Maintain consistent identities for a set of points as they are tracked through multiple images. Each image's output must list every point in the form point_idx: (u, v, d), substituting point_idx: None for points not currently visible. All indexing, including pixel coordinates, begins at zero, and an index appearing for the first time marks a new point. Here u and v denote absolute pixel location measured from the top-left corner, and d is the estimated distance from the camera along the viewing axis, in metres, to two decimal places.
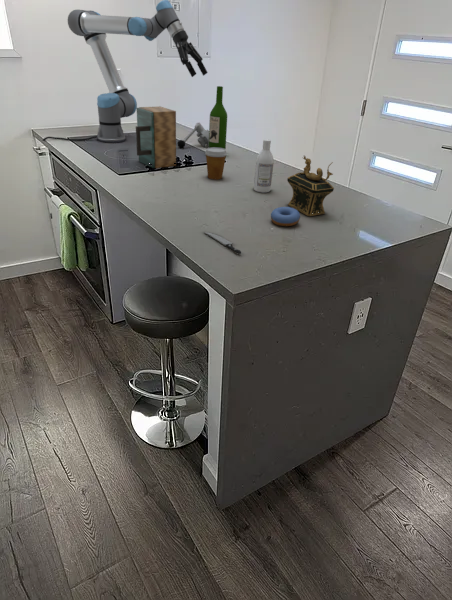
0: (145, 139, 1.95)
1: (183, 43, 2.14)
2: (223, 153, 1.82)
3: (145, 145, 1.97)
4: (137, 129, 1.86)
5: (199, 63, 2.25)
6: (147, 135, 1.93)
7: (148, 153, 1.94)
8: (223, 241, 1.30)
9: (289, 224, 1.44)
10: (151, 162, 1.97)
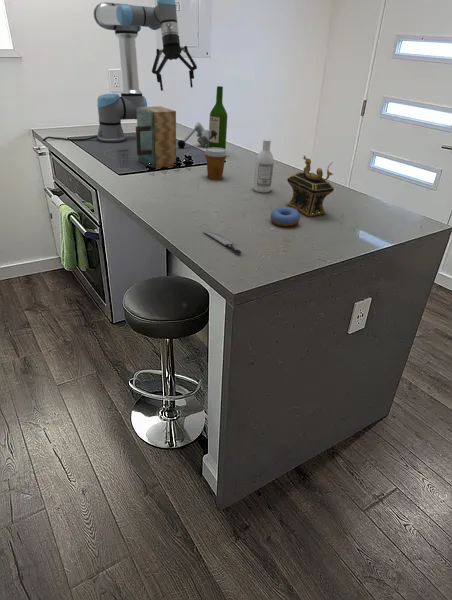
0: (145, 139, 1.95)
1: (166, 49, 1.90)
2: (223, 153, 1.82)
3: (145, 145, 1.97)
4: (137, 129, 1.86)
5: (189, 72, 1.94)
6: (147, 135, 1.93)
7: (148, 153, 1.94)
8: (223, 241, 1.30)
9: (289, 224, 1.44)
10: (151, 162, 1.97)
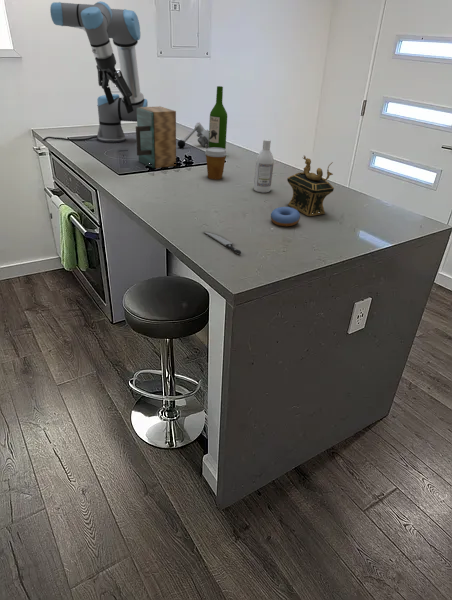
0: (145, 139, 1.95)
1: (103, 69, 1.72)
2: (223, 153, 1.82)
3: (145, 145, 1.97)
4: (137, 129, 1.86)
5: None
6: (147, 135, 1.93)
7: (148, 153, 1.94)
8: (223, 241, 1.30)
9: (289, 224, 1.44)
10: (151, 162, 1.97)
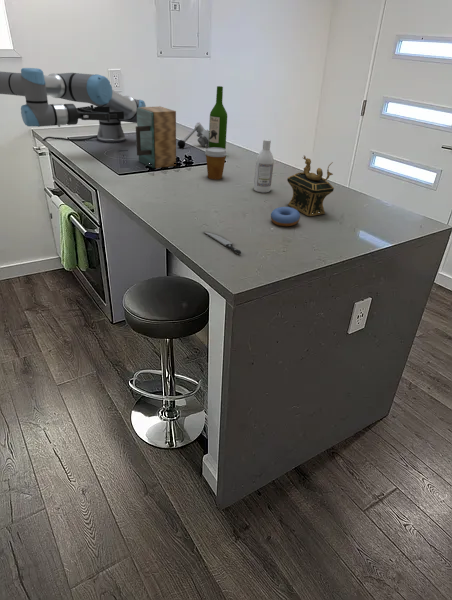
0: (145, 139, 1.95)
1: None
2: (223, 153, 1.82)
3: (145, 145, 1.97)
4: (137, 129, 1.86)
5: None
6: (147, 135, 1.93)
7: (148, 153, 1.94)
8: (223, 241, 1.30)
9: (289, 224, 1.44)
10: (151, 162, 1.97)
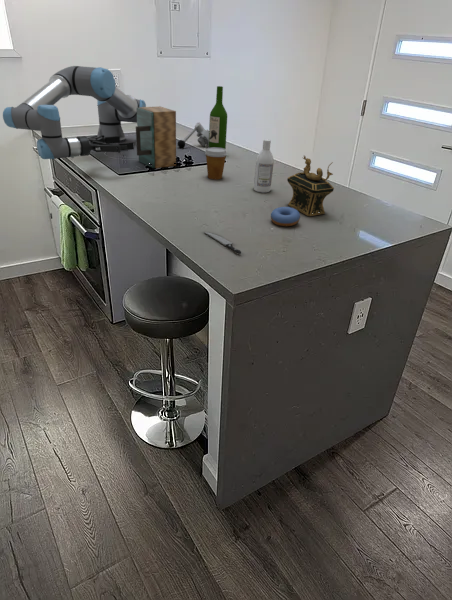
0: (145, 139, 1.95)
1: None
2: (223, 153, 1.82)
3: (145, 145, 1.97)
4: (137, 129, 1.86)
5: None
6: (147, 135, 1.93)
7: (148, 153, 1.94)
8: (223, 241, 1.30)
9: (289, 224, 1.44)
10: (151, 162, 1.97)
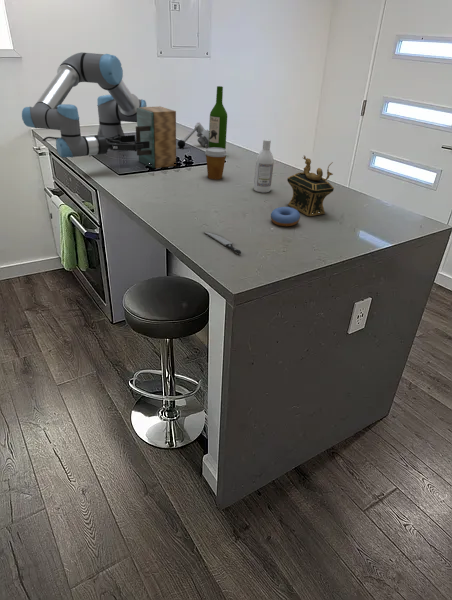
0: (145, 139, 1.95)
1: None
2: (223, 153, 1.82)
3: None
4: (137, 129, 1.86)
5: None
6: (147, 135, 1.93)
7: (148, 153, 1.94)
8: (223, 241, 1.30)
9: (289, 224, 1.44)
10: (151, 162, 1.97)
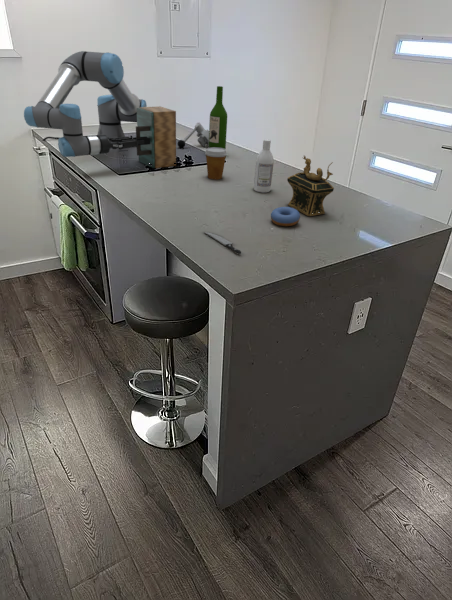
0: None
1: None
2: (223, 153, 1.82)
3: (145, 145, 1.97)
4: (137, 129, 1.86)
5: None
6: (147, 135, 1.93)
7: (148, 153, 1.94)
8: (223, 241, 1.30)
9: (289, 224, 1.44)
10: (151, 162, 1.97)
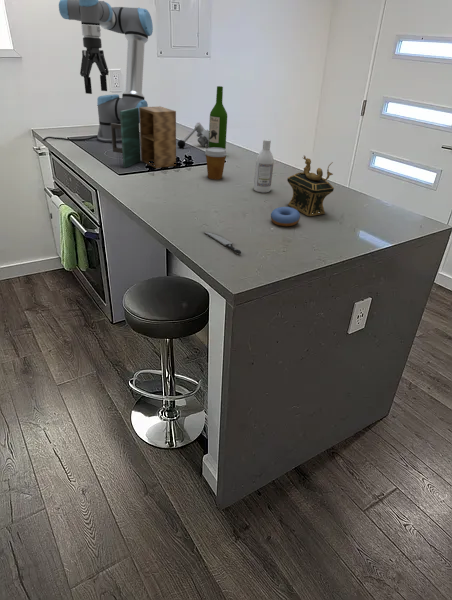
0: None
1: (92, 52, 1.84)
2: (223, 153, 1.82)
3: None
4: (111, 126, 1.90)
5: (102, 76, 1.96)
6: None
7: (122, 152, 1.94)
8: (223, 241, 1.30)
9: (289, 224, 1.44)
10: None
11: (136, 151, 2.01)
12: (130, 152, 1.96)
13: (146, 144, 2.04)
